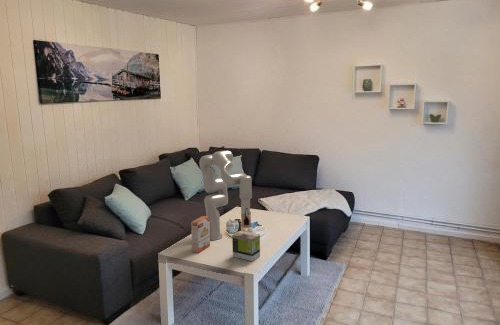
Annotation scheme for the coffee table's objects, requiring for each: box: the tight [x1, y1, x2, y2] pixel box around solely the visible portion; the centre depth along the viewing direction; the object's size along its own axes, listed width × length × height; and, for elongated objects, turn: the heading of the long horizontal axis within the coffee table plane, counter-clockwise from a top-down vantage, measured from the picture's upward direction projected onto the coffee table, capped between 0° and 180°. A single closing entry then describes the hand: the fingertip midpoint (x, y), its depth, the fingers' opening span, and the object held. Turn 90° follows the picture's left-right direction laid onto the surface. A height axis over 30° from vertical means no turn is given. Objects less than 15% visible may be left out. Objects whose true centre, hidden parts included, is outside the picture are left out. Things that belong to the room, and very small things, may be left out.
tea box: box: [231, 230, 261, 262], centre depth 245 cm, size 15×10×15 cm
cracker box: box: [190, 215, 211, 254], centre depth 257 cm, size 14×6×21 cm, turn 153°
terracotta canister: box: [240, 211, 252, 229], centre depth 242 cm, size 6×6×9 cm
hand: (246, 223), depth 242 cm, fingers closed on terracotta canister, 6 cm apart
